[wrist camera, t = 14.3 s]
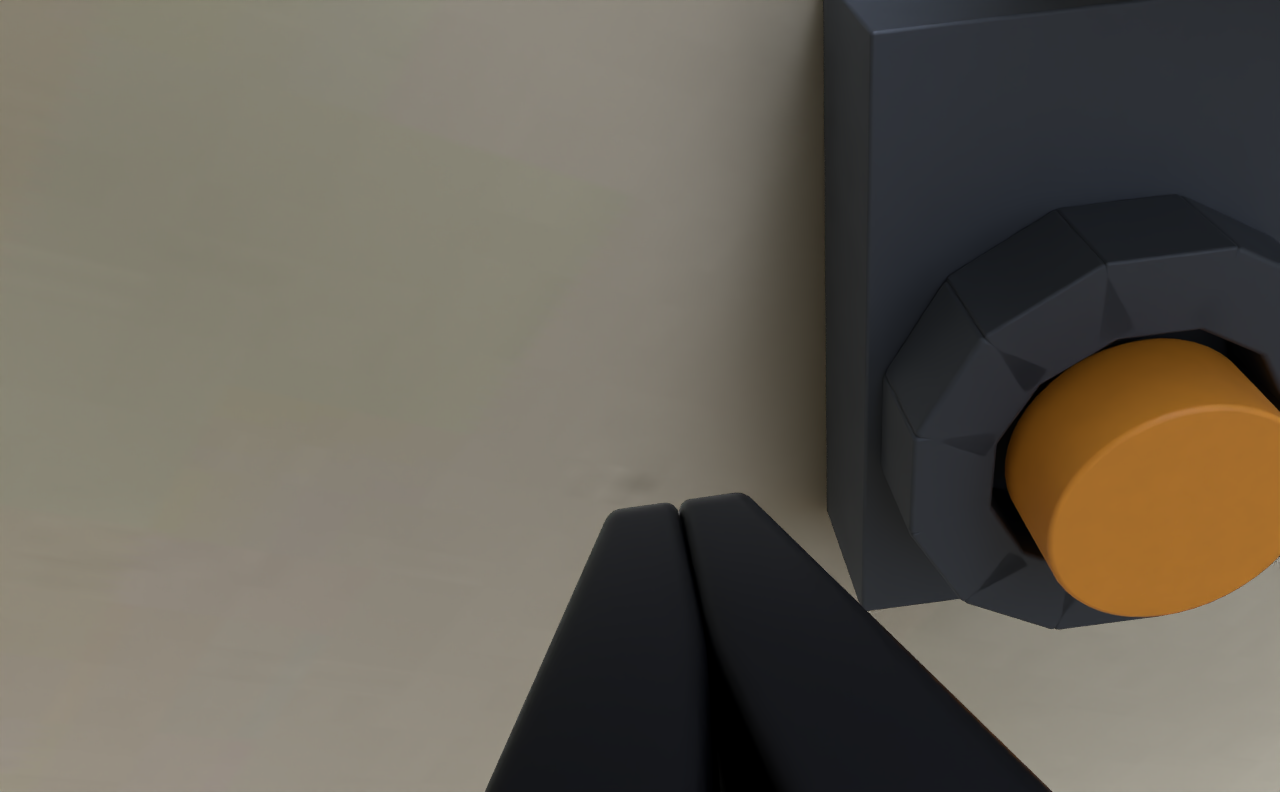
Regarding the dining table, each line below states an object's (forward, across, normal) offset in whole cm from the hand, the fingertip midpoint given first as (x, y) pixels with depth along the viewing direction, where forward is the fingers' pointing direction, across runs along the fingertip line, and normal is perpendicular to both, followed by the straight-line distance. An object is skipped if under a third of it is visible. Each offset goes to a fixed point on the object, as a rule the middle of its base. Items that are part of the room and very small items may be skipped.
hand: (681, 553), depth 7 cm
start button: (+8, -7, +6) cm, 12 cm away
